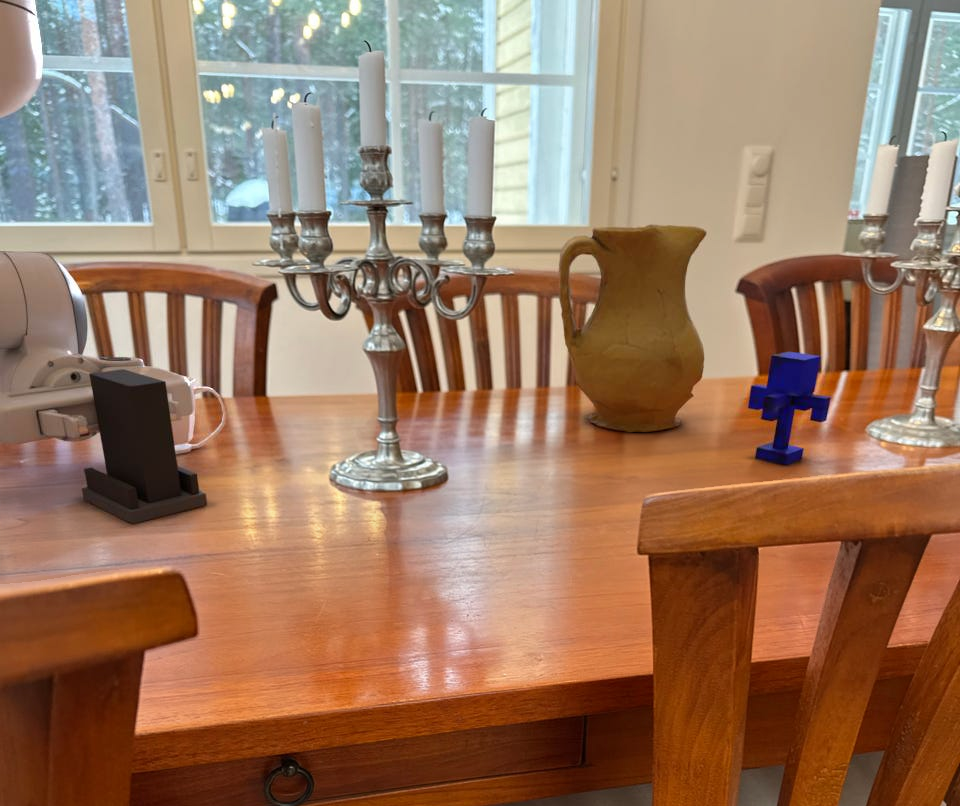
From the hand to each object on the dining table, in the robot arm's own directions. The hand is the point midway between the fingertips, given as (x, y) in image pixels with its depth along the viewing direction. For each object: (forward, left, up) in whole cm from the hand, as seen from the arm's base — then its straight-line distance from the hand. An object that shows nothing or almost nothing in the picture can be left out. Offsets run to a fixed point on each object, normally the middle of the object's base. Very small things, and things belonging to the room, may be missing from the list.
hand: (129, 420), depth 86 cm
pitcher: (+60, +28, -8) cm, 67 cm away
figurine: (+72, +7, -8) cm, 73 cm away
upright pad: (0, 0, -7) cm, 7 cm away
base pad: (0, 0, -8) cm, 8 cm away
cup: (+2, +20, -8) cm, 22 cm away
